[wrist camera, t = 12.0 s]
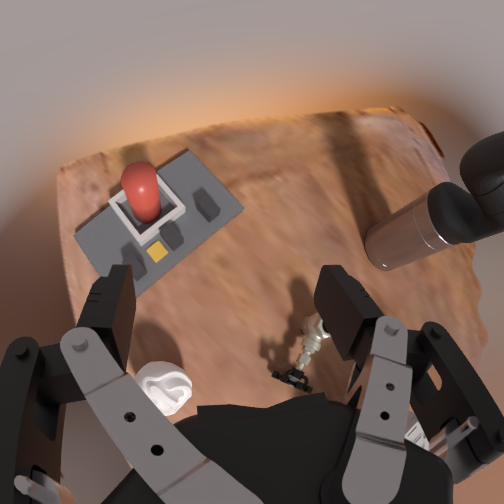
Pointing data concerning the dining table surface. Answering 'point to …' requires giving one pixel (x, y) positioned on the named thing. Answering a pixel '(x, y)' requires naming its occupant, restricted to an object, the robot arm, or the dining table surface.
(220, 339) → the dining table surface
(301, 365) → the valve
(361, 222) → the dining table surface
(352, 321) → the robot arm
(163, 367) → the white folded ball
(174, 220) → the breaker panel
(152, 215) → the cap
